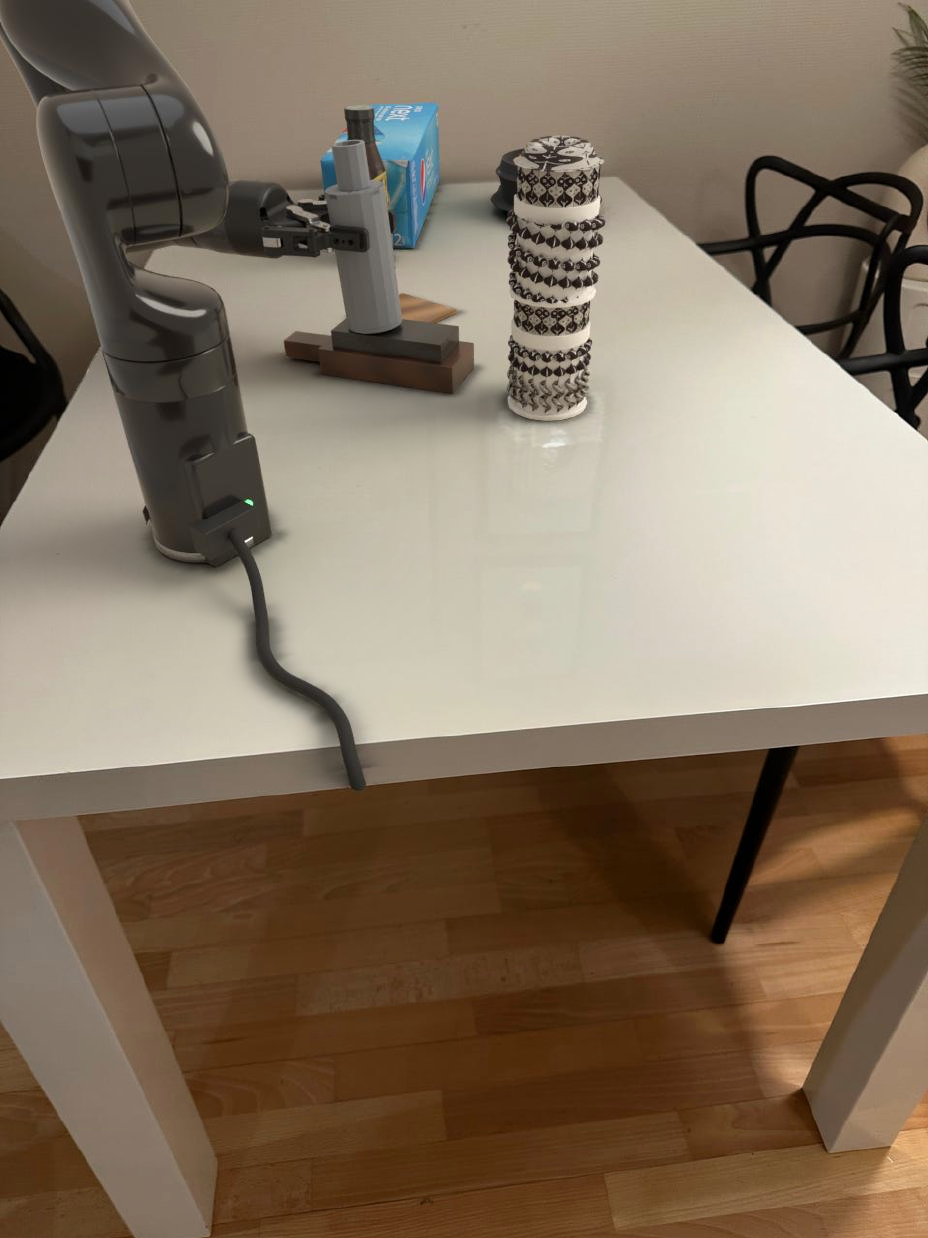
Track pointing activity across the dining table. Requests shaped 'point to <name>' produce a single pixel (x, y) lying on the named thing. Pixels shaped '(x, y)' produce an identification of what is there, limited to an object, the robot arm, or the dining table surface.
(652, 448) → the dining table surface
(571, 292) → the decorative candle
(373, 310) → the steel bottle
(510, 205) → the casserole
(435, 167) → the soda pack
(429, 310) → the cork mat
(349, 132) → the sauce bottle
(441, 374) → the scrub brush
